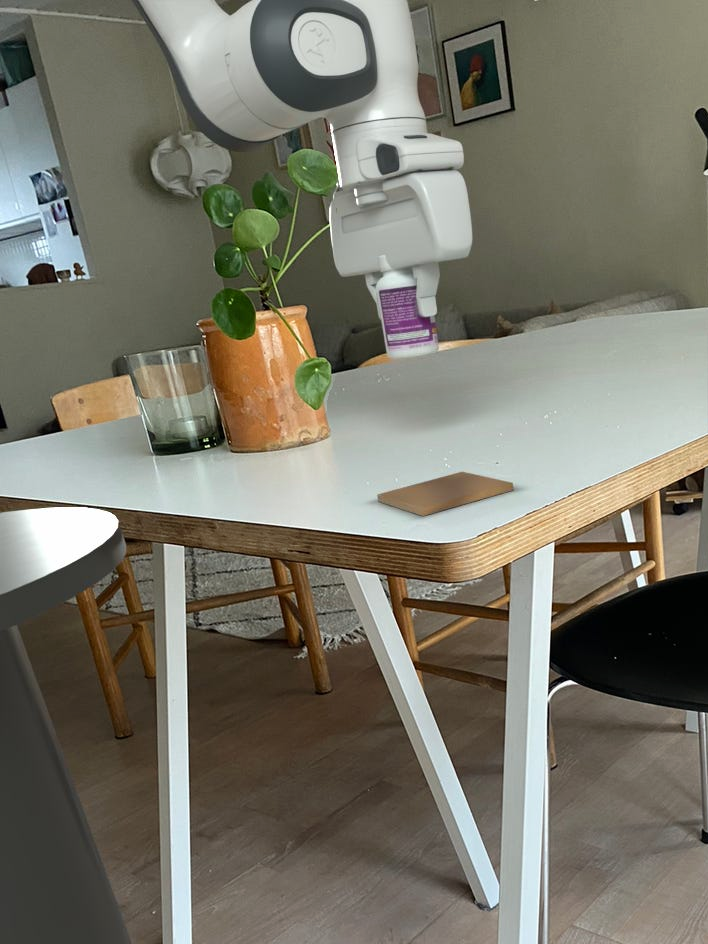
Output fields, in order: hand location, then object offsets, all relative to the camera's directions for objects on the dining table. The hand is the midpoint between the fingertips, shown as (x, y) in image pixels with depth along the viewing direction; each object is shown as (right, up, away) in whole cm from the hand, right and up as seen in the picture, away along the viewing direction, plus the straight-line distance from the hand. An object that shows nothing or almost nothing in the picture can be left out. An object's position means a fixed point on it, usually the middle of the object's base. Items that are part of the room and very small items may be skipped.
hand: (408, 318), depth 92 cm
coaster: (+4, -21, -19) cm, 28 cm away
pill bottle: (0, -3, +1) cm, 4 cm away
